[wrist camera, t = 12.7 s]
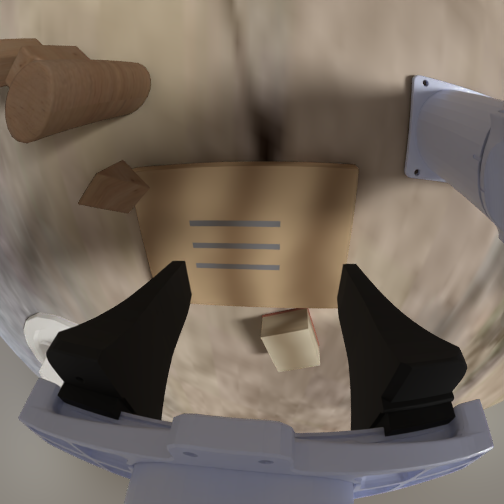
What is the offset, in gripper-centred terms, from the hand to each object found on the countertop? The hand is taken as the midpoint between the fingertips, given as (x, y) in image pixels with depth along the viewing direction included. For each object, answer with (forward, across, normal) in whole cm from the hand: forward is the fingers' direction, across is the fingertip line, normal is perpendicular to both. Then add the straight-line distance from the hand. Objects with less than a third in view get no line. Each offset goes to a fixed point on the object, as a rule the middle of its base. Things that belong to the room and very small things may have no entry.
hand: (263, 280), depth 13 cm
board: (+10, +2, +4) cm, 11 cm away
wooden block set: (+10, +13, -9) cm, 19 cm away
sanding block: (+11, -2, +15) cm, 18 cm away
